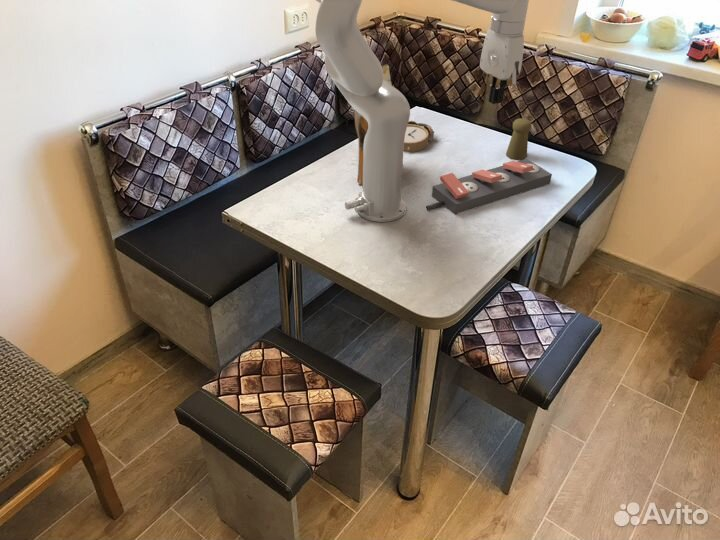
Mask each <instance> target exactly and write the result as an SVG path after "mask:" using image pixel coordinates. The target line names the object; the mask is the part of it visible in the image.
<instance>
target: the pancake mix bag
mask: <svg viewBox="0 0 720 540" xmlns="http://www.w3.org/2000/svg"><path fill="white" fill-rule="evenodd" d="M381 66H382V69H383V74H384V78H383V80H384V81H386V82H387V83H388V84H390V85H392V79H391V78H392V77H391V72H390V66H389V65H388V63H385V64H383V65H381ZM392 86H393V85H392ZM353 111H354V126H355V130H356V131H355V132H356V135H357V139H358V140H357V141H358V169H357V184H358V185H359V186H360V185H363V145H364V138H365V135H366V133H367V130H368V122H367V120H365V119H364V118H363V117H362V116H361V115H360V114H359V113H358V112H357V111H356V110H355V109H354V108H353Z"/></svg>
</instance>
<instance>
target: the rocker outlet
mask: <svg viewBox="0 0 720 540" xmlns="http://www.w3.org/2000/svg"><path fill="white" fill-rule="evenodd" d="M517 161H518V160H510V161H507V162H503V163H502V166H503V168H505V169H509V170H511V172H512V173H517V172H520V173H525V172H528V171H532V170H533V166H532V165H528V164H524V163H520V162H517Z"/></svg>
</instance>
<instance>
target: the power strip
mask: <svg viewBox="0 0 720 540" xmlns="http://www.w3.org/2000/svg"><path fill="white" fill-rule="evenodd" d="M516 161H517V162H520V163H524V164H528V165H532V166H533V170H532V171H528V172H525V173H520V172H517V173H512V172H511V170H509V169H505V168H503V165H500V166H498V167H492V168H490V169H487V170H486V169H485V170H486V171H490V172H493V173H497V174H500V175H502V180H499V181H496V182H492V183H490V182H484V183H482V182H481V181H480V179H477V178H474V177H472V174H470V175H467V176H462V177H459V178H457V179H458V180H459V181H460V182H461V183H462V185H463V186H464V187H465V188H466V189H467V191H468V192H469V194H468V196H465V197H462V198H459V199H456V198H455V197H454V196H453V195H452V194H451V192H448V191H447V188H446V186H445V185H444V184H443V183H442V182H441V183H439V184H436V185H432V189H431V190H432V192H431V197H432V198H433V199H435V200H436V201H437V202H435V203H431V204H427V205H426V206H425V210H426V211H430V210H433V209H437V208H439V207H440V208H441V207H445V208H446V209H447V210H448V211H450V212H451V213H452V214H454V215H457V214H460V213H464V212H467V211H469V210H472V209H473V210H474V209H477V208H480V207H482V206H483V207H484V206H485V205H488V204H491V203H494V202H497V201H500V200H501V201H502V200H505V199H509V198H510V197H513V196H517V195H519V194H522V193H526V192H529V191H532V190H534V189H538V188H542V187H544V186H547V185H548V186H549V185H550V184H551V179H552V175H553V174H552V173H551V172H550V171H548V170H546V169H544V168H543V167H541V166H539V165H538V164H537V163H535V162H533V161H532V160H530V159H528V158H526V159H524V160H516Z"/></svg>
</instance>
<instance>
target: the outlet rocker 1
mask: <svg viewBox="0 0 720 540" xmlns="http://www.w3.org/2000/svg"><path fill="white" fill-rule="evenodd" d="M458 179H459V178H458V177H457V176H456V175H455V174H454V173H453V172H450V173H447V174H444V175H443V174H442V175H440V178H439V180H440V182H441V184H442V183H443V184H444V185H445V186H446V188H447V191H448V192H451V194H452V195H453V196H454V197H455V198H456V199H459V198H462V197H465V196H468V194H469V192H468V191H467V189H466V188H465V187H464V186H463V185H462V183H461V182H460V181H459V180H458Z"/></svg>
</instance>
